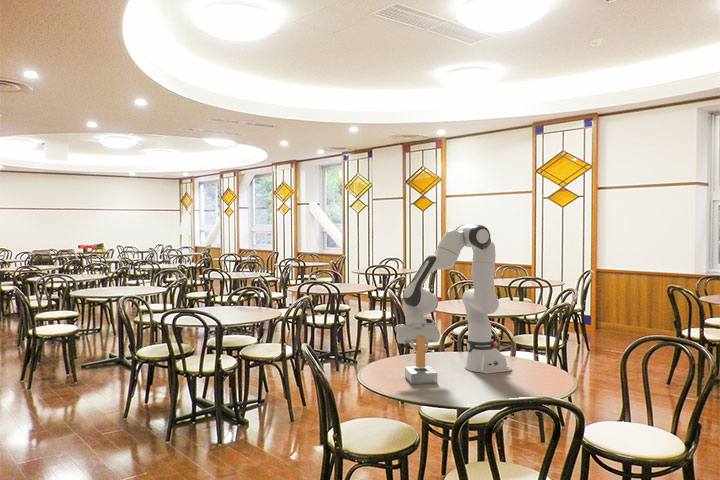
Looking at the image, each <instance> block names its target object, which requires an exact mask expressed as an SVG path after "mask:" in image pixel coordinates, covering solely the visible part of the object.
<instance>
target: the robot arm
mask: <svg viewBox="0 0 720 480" xmlns="http://www.w3.org/2000/svg"><path fill="white" fill-rule="evenodd" d="M465 247H467V248H471V249H472V253H473V254H472V261H471V272H470V279H471V281H472V284H473V288H469V289H467V290H465V291H464V292H463V294H462V297H461V299H462V304H463V305H464V309H465V313H466V318H467V327H468V331H467V332H468V333H467V337H468V338H467V340H466V341H467V343H466V348H467V354H466V355H467V357H466V360H465V361H466V362H465V366H464V368H465V370H467V371H471V372H477V373H481V374H495V373H502V372H511V371H513V370H512V369H513V368H512V366H511V365H510V364H508V361H507V358H506V356H505V355H504V354H503V352H501V351H499V350H498V349H497V348H495V347H498V346H499V343H498V342H497V341H494V340H492V324H491V321H490V319H489V316H488V315H492V314H494V313H496V312H497V311H498V310H499V307H500V302H499V299H498V297H497V294H496V288H495V287H496V286H495V268H496V257H497V255H496V245H495V243H494V242H493V241H492V239H491V232H490V230H489V229H488V227H487V226H484V225H482V224H473V223H471V224H462V225H459V226H458V227H457V228H456V229H449V230H446V232H445V233H444V235H443V236H442V238H441V239H440V241H439V242H438V245H437V248H436V249H435V251H434V252H433V253H432V254H431V255H428V256H427V257H426V258H425V259H424V261H423V262H422V263H421V265H420V267H419V268H418V270H417V271H416V272H415V273H416V274H415V275H414V276H413V278H412V280H411V281H410V282H409V284H408V285H407V286H406V287H405V288H404V290H403V292H402V299H403V300H402V310H403V315H404V316H405V319H404V320H405V324H397V325H395V326H394V331H395V333H396V342H397V343H398V344H409V345H410V347H411V348H413V351H415V352H416V351H417V346H416V335H424V336H425V351H428V350H429V347H428V345H429V343H439V341H440V339H441V335H440V334H441V333H440V331H439V329H438V327H437V325H435V324H436V322H435V320H434V319H430V318H427V317H425V316H427V315H429V314H431V313H432V312H435V310H436V309H437V308H438V304H439V299H438V296H437V295H436V294H434V293H433V292H431V291H429V290H426V289H425V288H423V286H424V284H425V283H426V281H427V280H428V278H429V276H430V275H431V273H432V272H434V271H438V270H439V271H440V270H441V271H444V270H449V269H451V268H453V267H454V266H455V264H456V263H457V262H458V258H459V256H460V254H461V251H462V250H463V248H465Z"/></svg>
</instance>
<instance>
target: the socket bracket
mask: <svg viewBox="0 0 720 480" xmlns="http://www.w3.org/2000/svg"><path fill="white" fill-rule="evenodd" d="M404 378H405V379H406V380H407V382H408V383H409V384H410V385H416V386H417V385H432V384H433V385H435V384H438V372H437V371H436V370H435V368H433V367H432V366H431V365H425V368H417V367H416V365H413V366H404Z"/></svg>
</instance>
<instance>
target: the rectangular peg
mask: <svg viewBox="0 0 720 480" xmlns="http://www.w3.org/2000/svg"><path fill="white" fill-rule="evenodd" d="M425 345H426V344H425V336H424V335H416V343H415V346H417V351H415V366H416V367H417V368H425V366H426V350H425Z"/></svg>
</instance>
